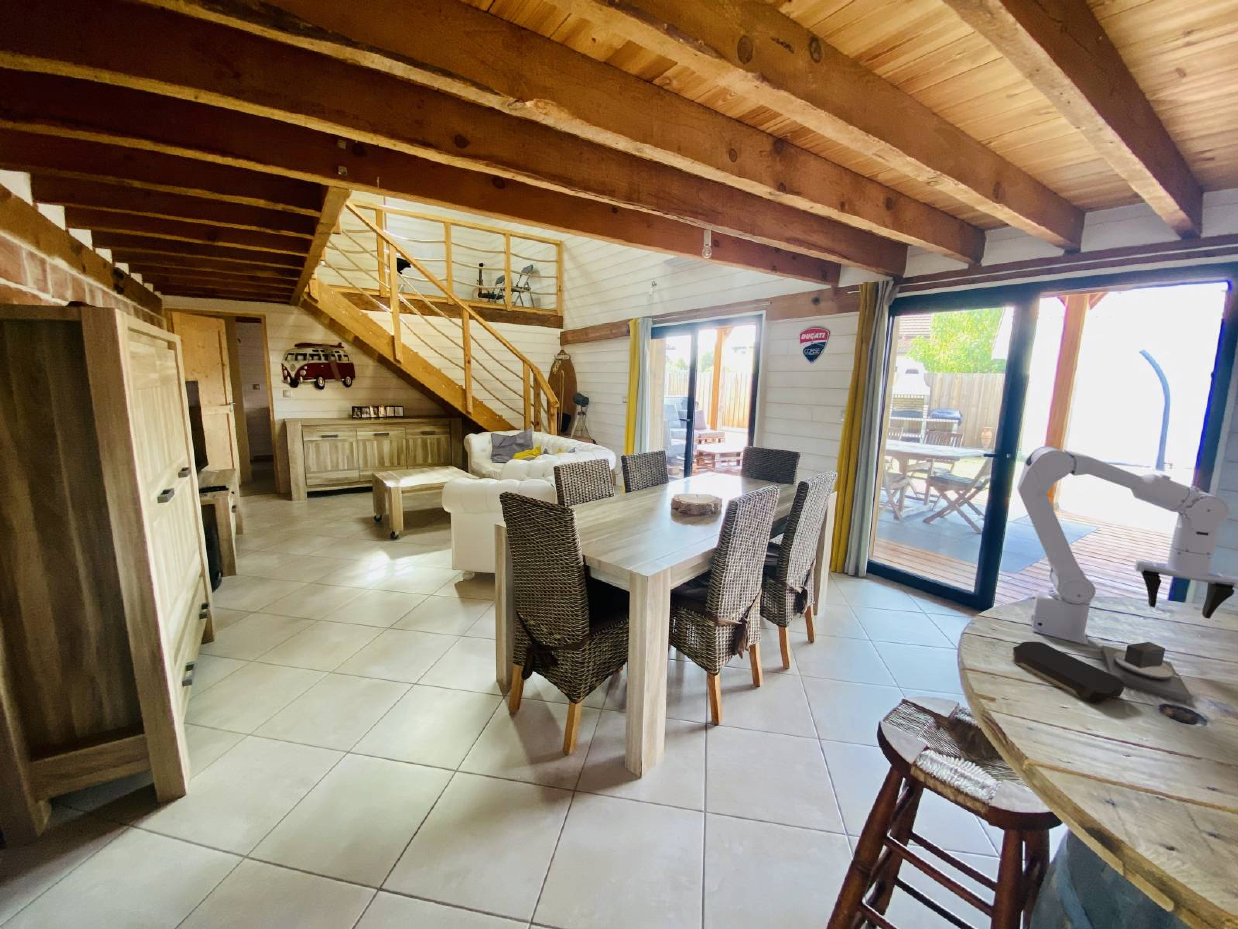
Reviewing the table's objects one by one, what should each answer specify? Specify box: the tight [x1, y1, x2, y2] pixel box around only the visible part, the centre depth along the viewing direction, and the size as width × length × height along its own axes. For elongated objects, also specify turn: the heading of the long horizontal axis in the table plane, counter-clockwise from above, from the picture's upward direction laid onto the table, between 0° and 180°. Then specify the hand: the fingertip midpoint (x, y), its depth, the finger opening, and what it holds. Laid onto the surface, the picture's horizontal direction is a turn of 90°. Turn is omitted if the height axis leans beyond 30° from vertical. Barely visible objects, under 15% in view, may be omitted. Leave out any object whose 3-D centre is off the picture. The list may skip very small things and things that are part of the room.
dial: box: [1114, 641, 1173, 679], centre depth 96 cm, size 8×8×4 cm
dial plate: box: [1100, 644, 1190, 704], centre depth 96 cm, size 10×14×2 cm
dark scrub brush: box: [1011, 641, 1125, 705], centre depth 95 cm, size 16×8×4 cm, turn 15°
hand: (1178, 610), depth 102 cm, fingers open, 7 cm apart
